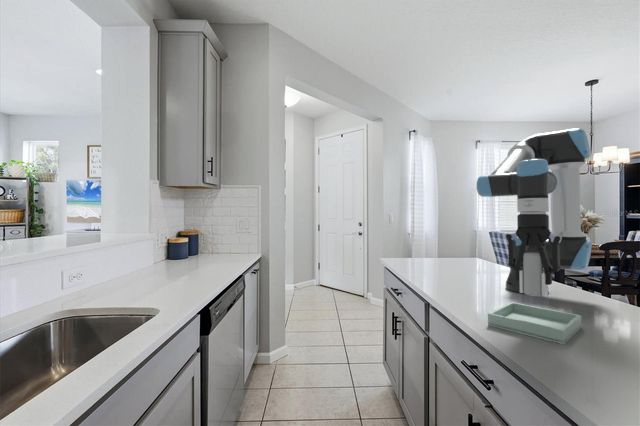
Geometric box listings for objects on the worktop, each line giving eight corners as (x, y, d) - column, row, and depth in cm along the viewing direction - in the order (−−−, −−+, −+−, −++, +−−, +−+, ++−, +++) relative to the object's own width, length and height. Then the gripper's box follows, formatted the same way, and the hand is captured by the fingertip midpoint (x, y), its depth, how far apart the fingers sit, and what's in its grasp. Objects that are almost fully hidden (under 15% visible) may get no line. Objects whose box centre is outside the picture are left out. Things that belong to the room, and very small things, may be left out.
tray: (511, 312, 103) (511, 302, 103) (581, 327, 89) (581, 315, 89) (488, 325, 92) (487, 313, 92) (564, 344, 78) (563, 330, 78)
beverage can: (547, 297, 87) (546, 254, 87) (528, 296, 88) (527, 254, 88) (538, 292, 92) (538, 252, 92) (520, 292, 93) (520, 252, 93)
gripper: (494, 213, 95) (495, 290, 95) (567, 213, 81) (568, 302, 81) (504, 213, 100) (504, 286, 100) (574, 213, 86) (575, 297, 86)
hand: (533, 293), depth 90 cm, fingers closed on beverage can, 5 cm apart
